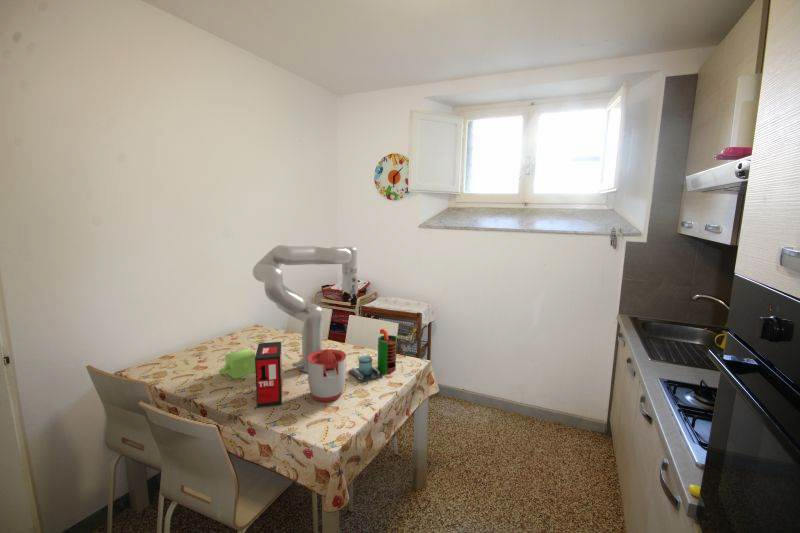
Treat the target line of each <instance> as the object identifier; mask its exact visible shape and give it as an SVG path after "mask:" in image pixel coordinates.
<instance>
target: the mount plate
mask: <svg viewBox="0 0 800 533" xmlns="http://www.w3.org/2000/svg"><path fill="white" fill-rule="evenodd" d="M348 373H349V374H350V375H351V376H353V377H354V378H355V379H356V380H357V381H358V382H359V383H360V384H362V383H366V382H369V381H374V380H378V379H381V378H383V376H384V374H383V373H380V371H378V370H377V368H376V367H374V366H373V365H372V373H371V374H369V375H362V374H361V373H360V372H359V367H351V369H348Z"/></svg>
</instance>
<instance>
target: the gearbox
mask: <svg viewBox="0 0 800 533" xmlns="http://www.w3.org/2000/svg"><path fill="white" fill-rule="evenodd" d="M255 356H256V353H255V352H253V351H252V350H251V349H249V348H245V349H240V350H236V351H233V352H230V353H227V354H225V355H224V357H225V359H224V360H225V365H224V367H221V369H220V370H219V372H220V374H223V375H224V373H226V374H227V375H228V376H229V377H231V378H232V379H234V380H236V379H238V378H241V377H245V376H247V375H251V374H252V373H256V372H255Z"/></svg>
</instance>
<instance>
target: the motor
mask: <svg viewBox="0 0 800 533" xmlns="http://www.w3.org/2000/svg"><path fill="white" fill-rule="evenodd" d="M379 334H380V336H378V338H377V366H376V367H377V368H376V369H377V370H378V371H380V374H382V375H387V374H389V373H394V371H395V372H396V370H397V339H398V337H397V335H393V334H389V333H388V330H387V328H380V329H379ZM381 334H382V335H381Z"/></svg>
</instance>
